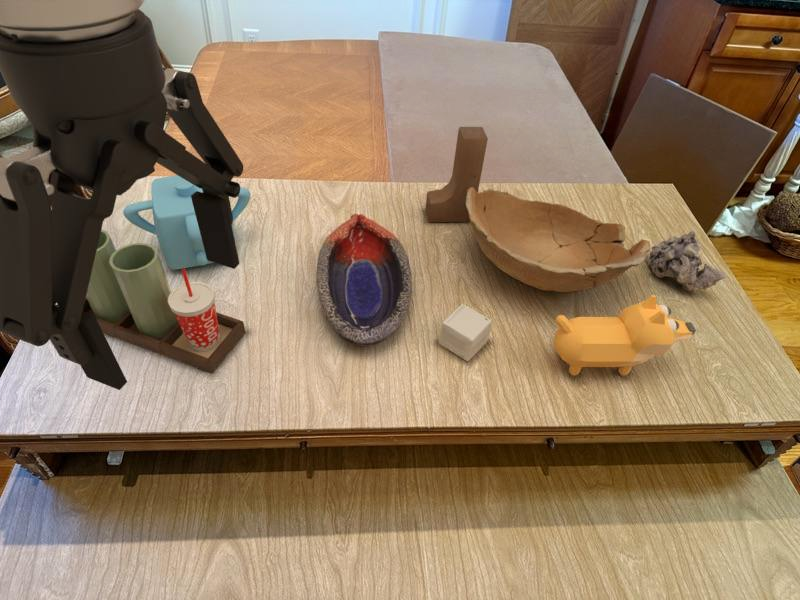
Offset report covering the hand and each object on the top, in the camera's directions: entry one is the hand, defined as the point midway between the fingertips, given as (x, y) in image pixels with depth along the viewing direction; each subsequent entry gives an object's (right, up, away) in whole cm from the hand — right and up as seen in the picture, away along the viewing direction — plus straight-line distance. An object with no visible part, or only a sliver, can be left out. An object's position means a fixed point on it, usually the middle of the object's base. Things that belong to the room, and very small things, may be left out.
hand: (171, 314), depth 41 cm
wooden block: (+27, +18, +66) cm, 74 cm away
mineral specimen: (+67, +5, +56) cm, 87 cm away
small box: (+27, -6, +42) cm, 50 cm away
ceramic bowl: (+43, +7, +56) cm, 71 cm away
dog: (+49, -9, +40) cm, 64 cm away
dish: (+11, +3, +50) cm, 51 cm away
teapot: (-19, +11, +56) cm, 60 cm away
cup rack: (-19, -3, +41) cm, 45 cm away
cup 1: (-27, -1, +43) cm, 50 cm away
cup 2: (-19, -3, +41) cm, 45 cm away
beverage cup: (-12, -5, +39) cm, 41 cm away
